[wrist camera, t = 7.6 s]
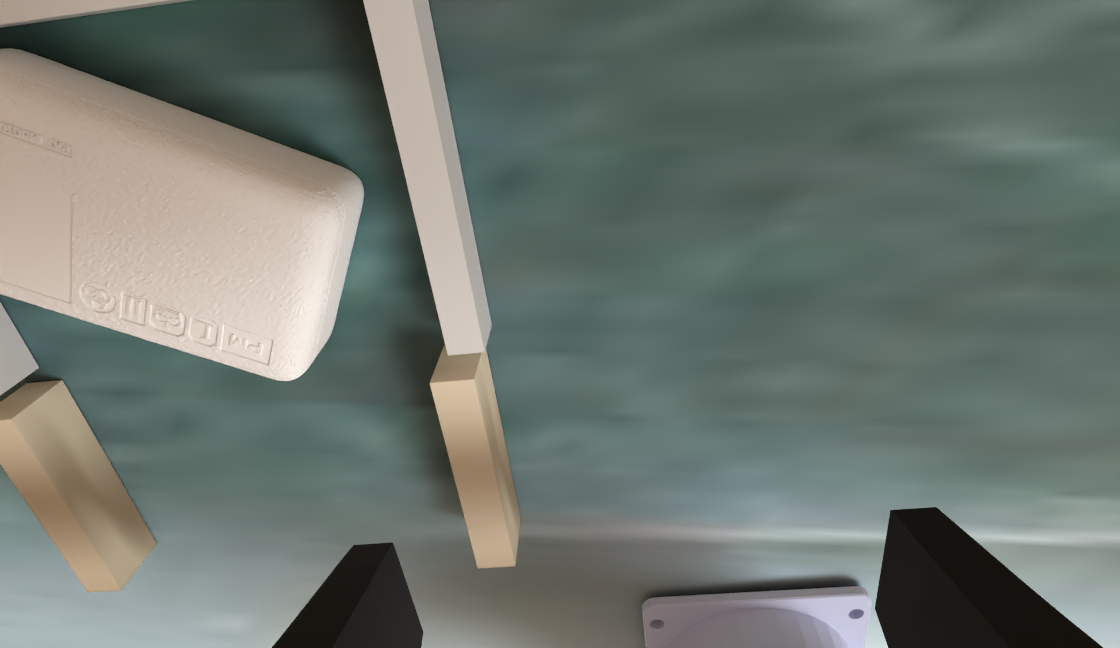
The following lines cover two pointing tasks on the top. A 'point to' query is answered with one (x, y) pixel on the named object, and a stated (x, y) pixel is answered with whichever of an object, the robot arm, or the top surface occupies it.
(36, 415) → the slot
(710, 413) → the top surface
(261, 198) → the soap
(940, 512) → the robot arm
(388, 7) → the white frame
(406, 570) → the top surface
